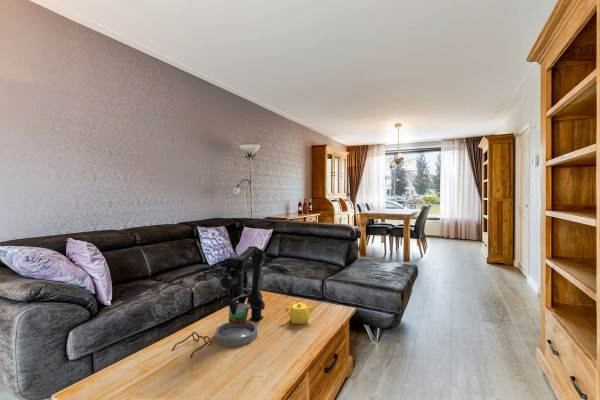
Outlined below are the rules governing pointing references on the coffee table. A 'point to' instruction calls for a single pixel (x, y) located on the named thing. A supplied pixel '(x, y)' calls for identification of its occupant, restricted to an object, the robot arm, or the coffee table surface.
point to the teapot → (299, 313)
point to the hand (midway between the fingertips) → (237, 312)
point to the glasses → (197, 340)
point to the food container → (239, 314)
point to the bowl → (236, 333)
